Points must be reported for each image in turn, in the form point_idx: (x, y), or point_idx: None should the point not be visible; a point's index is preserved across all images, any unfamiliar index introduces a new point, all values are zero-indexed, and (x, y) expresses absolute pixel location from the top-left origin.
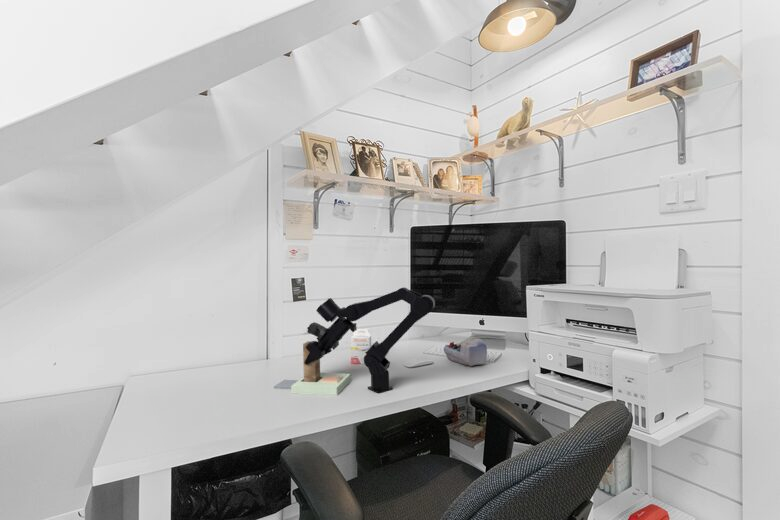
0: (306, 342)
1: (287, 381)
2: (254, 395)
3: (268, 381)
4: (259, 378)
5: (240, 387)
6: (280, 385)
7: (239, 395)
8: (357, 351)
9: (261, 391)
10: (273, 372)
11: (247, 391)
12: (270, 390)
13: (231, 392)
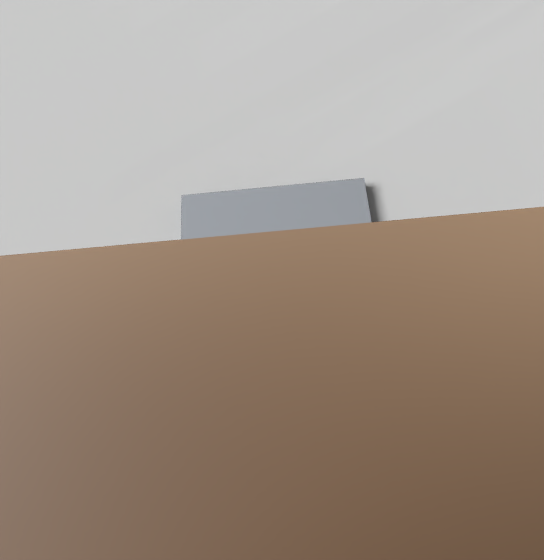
0: (278, 260)
1: (325, 226)
2: (28, 165)
3: (329, 85)
4: (374, 3)
5: (175, 10)
6: (214, 228)
7: (29, 86)
8: None
9: (110, 161)
10: (538, 4)
11: (105, 85)
12: (136, 206)
13: (82, 20)
